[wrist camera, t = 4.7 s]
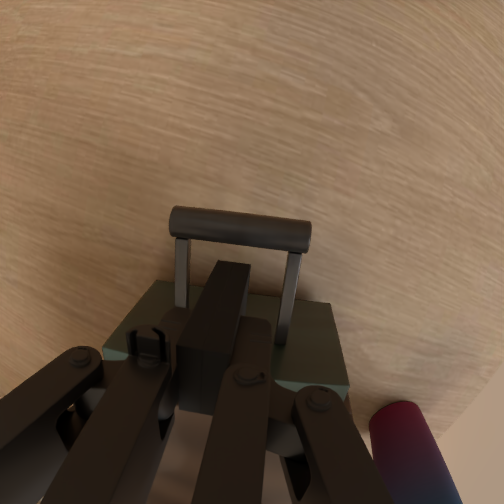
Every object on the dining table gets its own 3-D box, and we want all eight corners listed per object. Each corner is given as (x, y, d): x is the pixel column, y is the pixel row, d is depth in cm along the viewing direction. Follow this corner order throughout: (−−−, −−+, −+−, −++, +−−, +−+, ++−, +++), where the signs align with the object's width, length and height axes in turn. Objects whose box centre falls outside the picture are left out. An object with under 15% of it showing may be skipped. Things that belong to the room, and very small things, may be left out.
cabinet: (153, 294, 22) (88, 381, 13) (332, 319, 22) (354, 425, 13) (163, 425, 27) (133, 504, 18) (294, 445, 27) (292, 531, 18)
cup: (372, 449, 26) (393, 577, 12) (348, 416, 25) (368, 571, 11) (434, 420, 25) (476, 545, 11) (419, 382, 23) (475, 532, 9)
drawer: (157, 185, 19) (87, 215, 11) (349, 207, 18) (391, 253, 11) (165, 415, 25) (138, 483, 18) (293, 434, 25) (292, 509, 18)
